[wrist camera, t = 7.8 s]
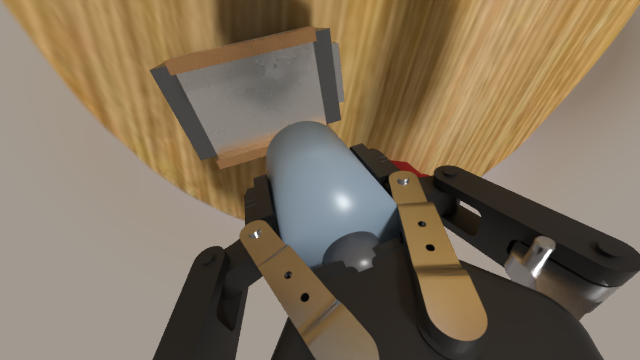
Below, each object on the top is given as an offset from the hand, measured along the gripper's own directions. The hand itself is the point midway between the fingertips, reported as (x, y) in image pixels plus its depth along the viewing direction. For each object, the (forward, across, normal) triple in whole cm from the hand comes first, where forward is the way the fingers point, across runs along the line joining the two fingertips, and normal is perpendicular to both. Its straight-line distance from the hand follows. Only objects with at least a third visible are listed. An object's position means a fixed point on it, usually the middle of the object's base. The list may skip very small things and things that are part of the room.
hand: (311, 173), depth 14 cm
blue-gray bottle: (+2, 0, 0) cm, 2 cm away
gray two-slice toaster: (+23, +2, -2) cm, 23 cm away
